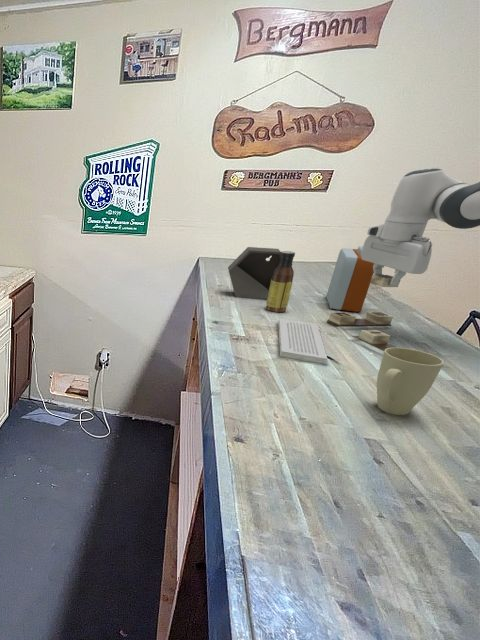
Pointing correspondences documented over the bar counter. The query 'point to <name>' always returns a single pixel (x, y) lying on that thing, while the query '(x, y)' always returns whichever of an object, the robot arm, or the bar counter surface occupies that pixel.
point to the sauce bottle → (281, 283)
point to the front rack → (375, 339)
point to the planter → (254, 272)
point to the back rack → (369, 320)
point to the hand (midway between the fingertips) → (384, 282)
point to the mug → (405, 378)
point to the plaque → (301, 341)
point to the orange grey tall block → (350, 281)
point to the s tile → (382, 280)
